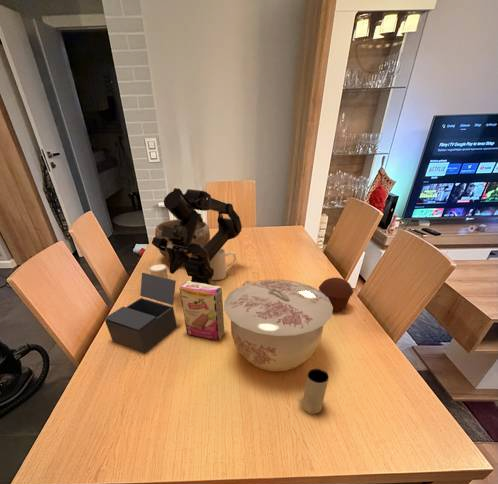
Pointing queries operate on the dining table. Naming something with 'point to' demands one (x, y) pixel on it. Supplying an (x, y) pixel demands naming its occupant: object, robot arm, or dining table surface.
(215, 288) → the candy bar box
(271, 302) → the chamber pot
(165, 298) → the flap
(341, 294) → the muffin
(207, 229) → the bowl
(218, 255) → the mug
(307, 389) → the grey black-topped cylinder
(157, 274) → the shot glass
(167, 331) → the carton
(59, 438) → the dining table surface
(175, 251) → the robot arm
